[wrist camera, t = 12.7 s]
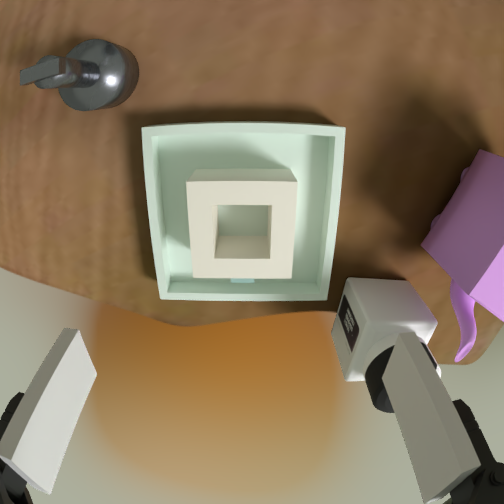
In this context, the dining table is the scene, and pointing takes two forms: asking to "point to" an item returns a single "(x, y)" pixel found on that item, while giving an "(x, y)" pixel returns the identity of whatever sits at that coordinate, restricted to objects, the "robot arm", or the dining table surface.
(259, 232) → the tray
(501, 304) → the teapot
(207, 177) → the cream square-holed block
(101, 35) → the dining table surface
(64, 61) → the dark grey stemmed piece
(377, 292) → the container
